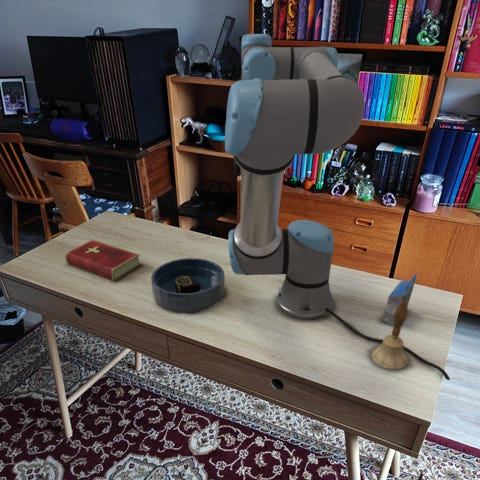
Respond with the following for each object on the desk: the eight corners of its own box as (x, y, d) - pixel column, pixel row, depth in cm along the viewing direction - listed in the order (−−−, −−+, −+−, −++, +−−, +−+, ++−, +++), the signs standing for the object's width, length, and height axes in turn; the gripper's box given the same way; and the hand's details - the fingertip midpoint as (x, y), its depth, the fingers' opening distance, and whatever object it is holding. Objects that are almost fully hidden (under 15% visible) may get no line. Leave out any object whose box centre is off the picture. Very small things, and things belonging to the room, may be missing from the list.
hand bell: (372, 344, 109) (384, 289, 100) (407, 350, 107) (423, 295, 98) (370, 366, 103) (383, 309, 94) (407, 373, 101) (424, 316, 92)
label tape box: (393, 306, 123) (402, 267, 116) (407, 311, 121) (418, 271, 114) (381, 321, 117) (390, 281, 110) (396, 326, 115) (407, 286, 108)
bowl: (239, 294, 128) (239, 277, 125) (180, 322, 117) (178, 303, 114) (197, 268, 141) (195, 251, 137) (140, 291, 130) (137, 273, 126)
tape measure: (202, 293, 127) (201, 282, 125) (180, 300, 124) (179, 289, 122) (192, 283, 132) (191, 272, 130) (170, 289, 129) (169, 278, 127)
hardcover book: (114, 282, 134) (111, 269, 132) (67, 264, 143) (64, 252, 141) (141, 265, 142) (139, 253, 140) (95, 250, 151) (92, 238, 149)
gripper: (300, 107, 113) (294, 188, 126) (234, 94, 128) (235, 168, 141) (280, 111, 109) (276, 195, 122) (214, 98, 124) (217, 173, 136)
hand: (254, 181), depth 131 cm, fingers open, 13 cm apart
